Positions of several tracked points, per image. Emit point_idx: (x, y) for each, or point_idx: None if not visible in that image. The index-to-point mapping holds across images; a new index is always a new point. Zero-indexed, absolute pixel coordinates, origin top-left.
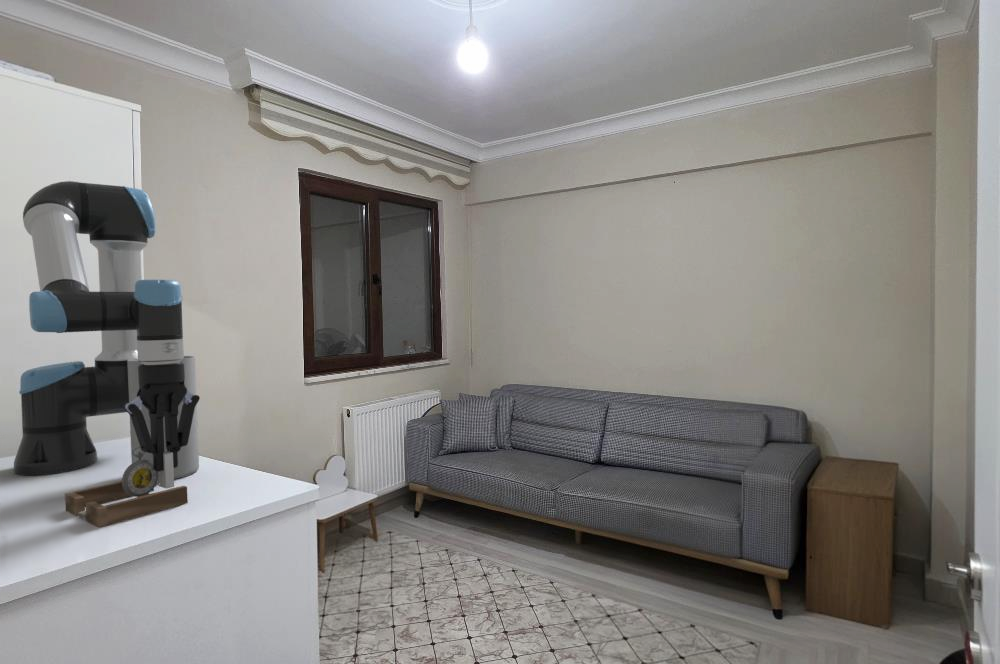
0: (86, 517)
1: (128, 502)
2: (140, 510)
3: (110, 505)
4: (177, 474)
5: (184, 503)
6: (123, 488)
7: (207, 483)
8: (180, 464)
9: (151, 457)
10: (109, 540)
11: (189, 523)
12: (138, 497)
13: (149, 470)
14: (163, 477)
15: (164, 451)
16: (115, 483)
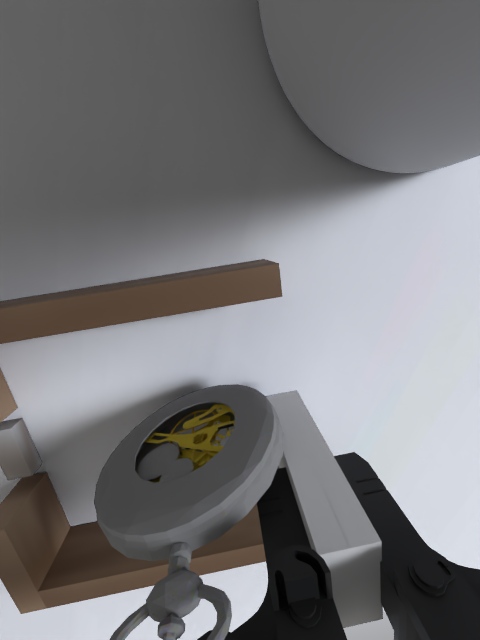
0: (15, 487)
1: (115, 591)
2: None
3: (58, 599)
4: (412, 171)
5: None
6: (119, 446)
7: (429, 338)
8: (471, 155)
9: (376, 53)
10: (74, 629)
11: (239, 624)
12: (150, 571)
13: (242, 432)
14: (280, 461)
15: (362, 559)
16: (100, 319)
